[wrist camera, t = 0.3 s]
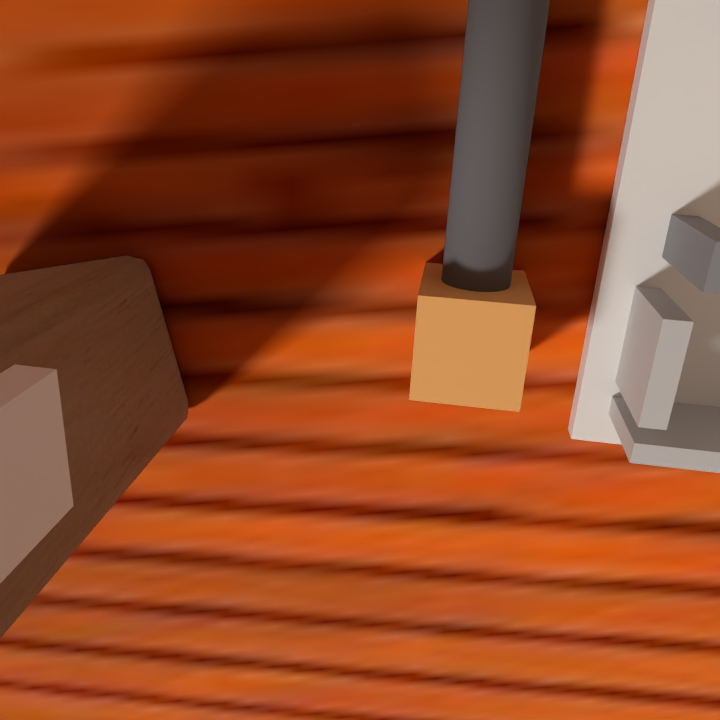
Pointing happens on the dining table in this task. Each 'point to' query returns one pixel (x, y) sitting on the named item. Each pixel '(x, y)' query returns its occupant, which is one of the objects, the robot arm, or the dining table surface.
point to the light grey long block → (661, 257)
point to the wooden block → (91, 391)
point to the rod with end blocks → (484, 220)
